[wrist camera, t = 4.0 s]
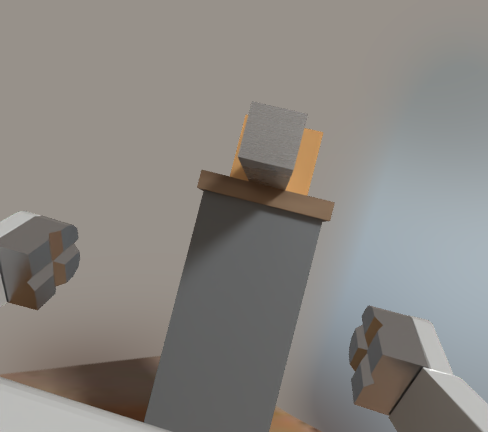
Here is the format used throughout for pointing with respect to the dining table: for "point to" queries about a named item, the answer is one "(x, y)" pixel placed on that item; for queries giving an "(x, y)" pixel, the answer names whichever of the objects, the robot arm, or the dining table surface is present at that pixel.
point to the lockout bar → (276, 149)
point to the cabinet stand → (236, 307)
